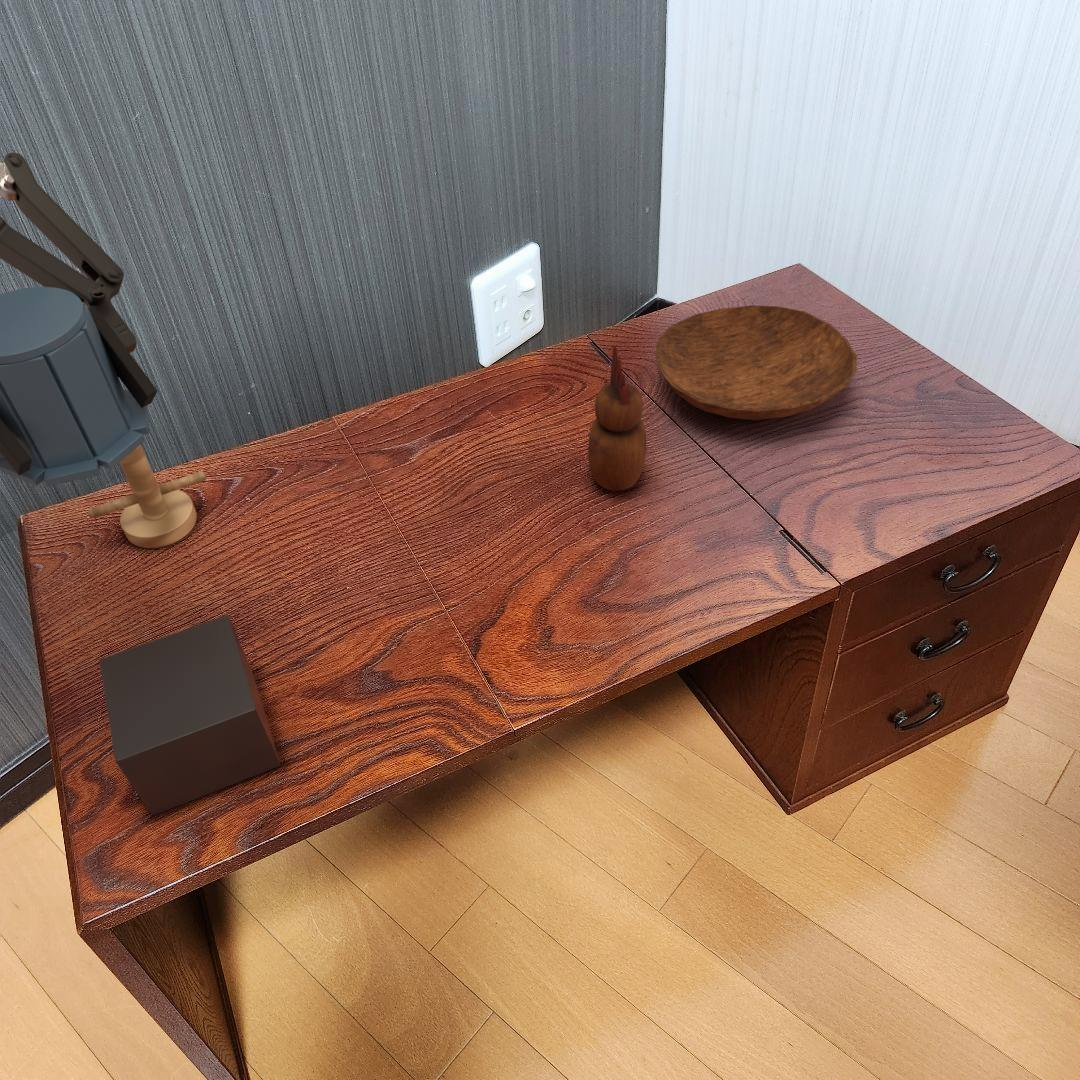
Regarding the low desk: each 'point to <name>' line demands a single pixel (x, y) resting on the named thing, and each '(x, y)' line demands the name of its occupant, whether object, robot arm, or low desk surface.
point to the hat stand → (152, 505)
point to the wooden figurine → (617, 433)
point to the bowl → (755, 361)
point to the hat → (62, 389)
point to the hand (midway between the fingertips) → (89, 432)
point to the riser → (186, 715)
